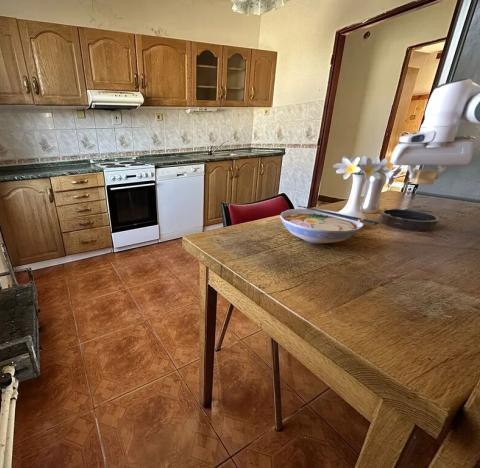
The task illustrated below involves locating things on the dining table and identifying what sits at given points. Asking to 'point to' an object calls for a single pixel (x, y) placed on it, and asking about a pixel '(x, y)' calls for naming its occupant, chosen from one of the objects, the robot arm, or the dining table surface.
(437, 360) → the dining table surface
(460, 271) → the dining table surface
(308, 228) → the ramen bowl
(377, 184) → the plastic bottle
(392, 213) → the pan
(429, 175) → the block
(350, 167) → the flower vase
